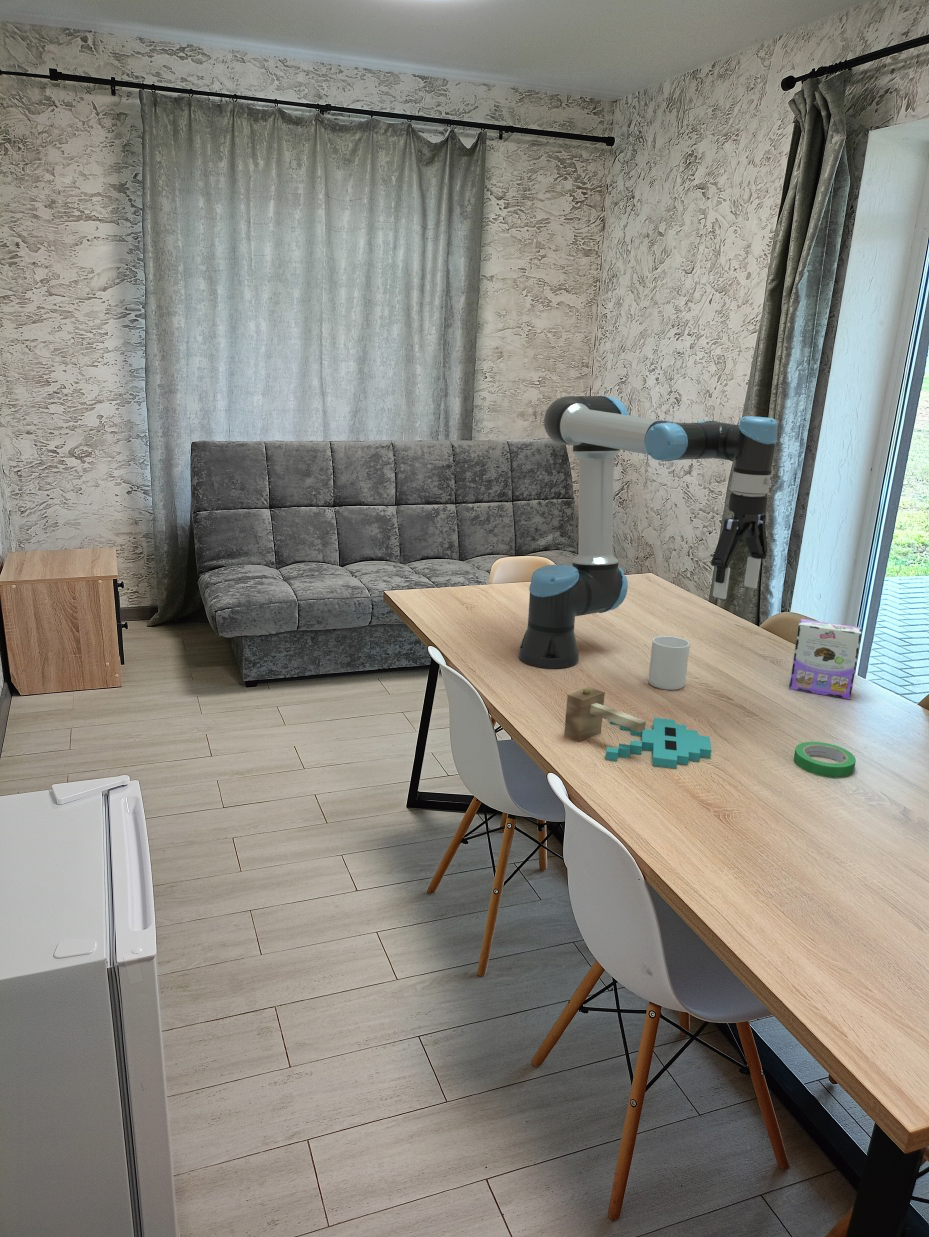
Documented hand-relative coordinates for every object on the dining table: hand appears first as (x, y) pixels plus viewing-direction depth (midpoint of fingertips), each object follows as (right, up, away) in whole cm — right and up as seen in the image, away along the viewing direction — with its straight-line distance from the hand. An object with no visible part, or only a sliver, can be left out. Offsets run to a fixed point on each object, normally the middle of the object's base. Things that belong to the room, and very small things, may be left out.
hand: (735, 592), depth 194 cm
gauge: (-30, -31, -13) cm, 45 cm away
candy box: (+27, -23, +22) cm, 42 cm away
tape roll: (+12, -35, -17) cm, 40 cm away
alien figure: (-19, -32, -12) cm, 39 cm away
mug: (-10, -21, +23) cm, 33 cm away
